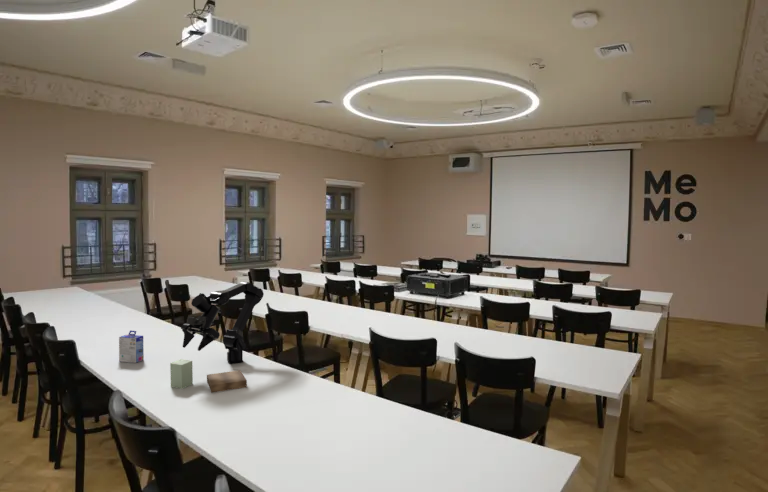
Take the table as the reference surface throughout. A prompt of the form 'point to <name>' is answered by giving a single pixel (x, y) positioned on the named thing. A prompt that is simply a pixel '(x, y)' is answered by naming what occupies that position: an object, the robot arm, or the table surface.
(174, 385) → the sage block
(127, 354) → the ink cartridge box
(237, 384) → the walnut plinth
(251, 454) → the table surface
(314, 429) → the table surface
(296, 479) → the table surface
